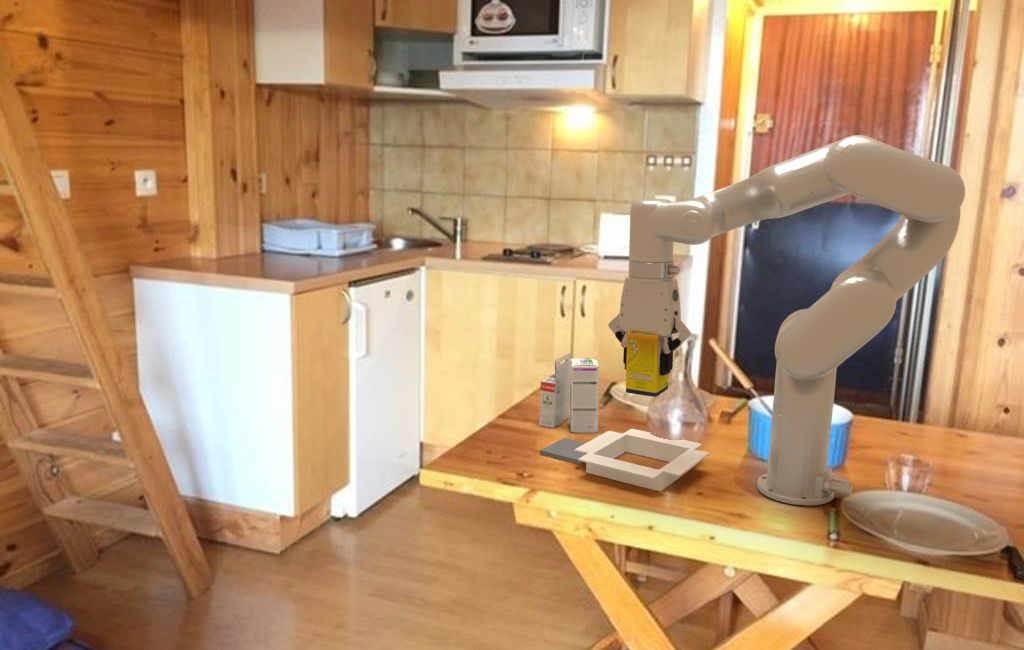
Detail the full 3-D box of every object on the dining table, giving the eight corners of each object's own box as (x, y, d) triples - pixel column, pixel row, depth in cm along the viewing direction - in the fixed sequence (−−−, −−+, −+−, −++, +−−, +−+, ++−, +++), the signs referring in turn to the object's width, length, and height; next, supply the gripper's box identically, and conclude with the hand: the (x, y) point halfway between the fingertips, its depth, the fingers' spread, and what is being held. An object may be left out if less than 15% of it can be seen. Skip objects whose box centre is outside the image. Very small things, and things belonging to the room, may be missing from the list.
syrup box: (598, 433, 175) (600, 364, 172) (569, 433, 175) (571, 364, 172) (596, 424, 180) (598, 358, 177) (568, 424, 180) (570, 357, 177)
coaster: (604, 450, 165) (604, 446, 165) (580, 464, 158) (581, 460, 157) (564, 441, 170) (564, 437, 170) (539, 454, 163) (540, 450, 162)
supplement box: (637, 385, 156) (639, 326, 154) (668, 389, 153) (670, 330, 151) (624, 392, 151) (626, 332, 149) (656, 397, 148) (658, 336, 146)
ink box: (538, 426, 179) (539, 358, 176) (554, 416, 186) (555, 350, 183) (554, 429, 177) (556, 360, 174) (569, 418, 184) (571, 352, 181)
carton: (716, 465, 158) (717, 447, 157) (669, 501, 142) (670, 481, 141) (617, 442, 170) (617, 425, 169) (563, 473, 153) (563, 455, 152)
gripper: (706, 272, 146) (701, 373, 150) (616, 264, 156) (614, 360, 160) (688, 277, 140) (684, 383, 144) (596, 269, 150) (594, 368, 153)
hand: (647, 370), depth 152 cm, fingers closed on supplement box, 6 cm apart
